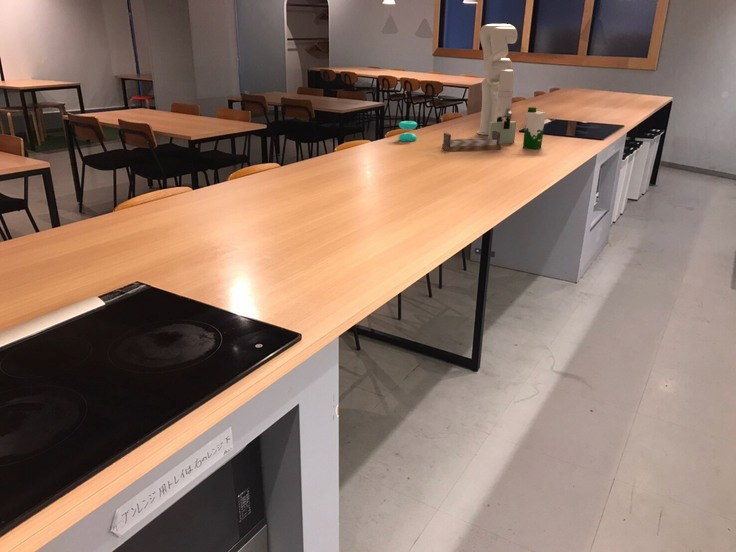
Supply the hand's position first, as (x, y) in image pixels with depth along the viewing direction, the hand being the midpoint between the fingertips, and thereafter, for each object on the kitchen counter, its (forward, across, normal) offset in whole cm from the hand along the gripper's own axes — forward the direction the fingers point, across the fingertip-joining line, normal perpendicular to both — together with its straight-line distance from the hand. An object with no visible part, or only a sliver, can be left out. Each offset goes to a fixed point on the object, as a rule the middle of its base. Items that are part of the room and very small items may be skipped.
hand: (502, 127), depth 312 cm
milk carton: (+9, +16, +10) cm, 21 cm away
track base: (+8, +12, -22) cm, 26 cm away
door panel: (+8, -1, 0) cm, 8 cm away
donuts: (+8, -18, -48) cm, 52 cm away
